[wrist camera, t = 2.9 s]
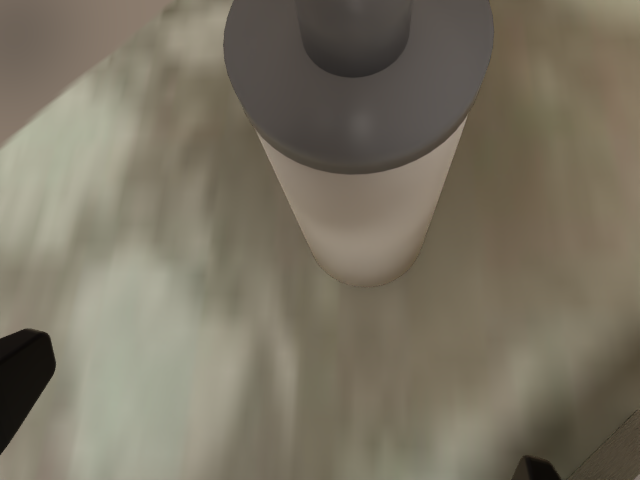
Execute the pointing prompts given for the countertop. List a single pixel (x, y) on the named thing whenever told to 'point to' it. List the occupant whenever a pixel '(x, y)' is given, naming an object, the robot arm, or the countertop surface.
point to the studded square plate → (615, 456)
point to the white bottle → (359, 115)
